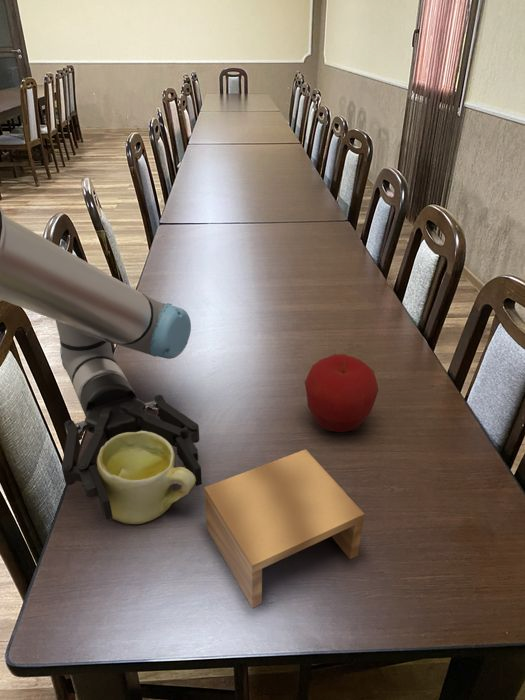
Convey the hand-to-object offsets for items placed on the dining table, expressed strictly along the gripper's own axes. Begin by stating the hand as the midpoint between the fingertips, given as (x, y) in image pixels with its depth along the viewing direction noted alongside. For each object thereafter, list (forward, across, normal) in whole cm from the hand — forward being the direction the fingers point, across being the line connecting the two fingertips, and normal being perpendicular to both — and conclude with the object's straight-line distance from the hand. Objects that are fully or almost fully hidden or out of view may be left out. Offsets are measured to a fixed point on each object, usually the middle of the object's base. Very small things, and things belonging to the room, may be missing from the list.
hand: (154, 492), depth 63 cm
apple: (-6, -31, -6) cm, 32 cm away
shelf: (+9, -12, -6) cm, 16 cm away
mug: (-4, 0, -6) cm, 7 cm away
